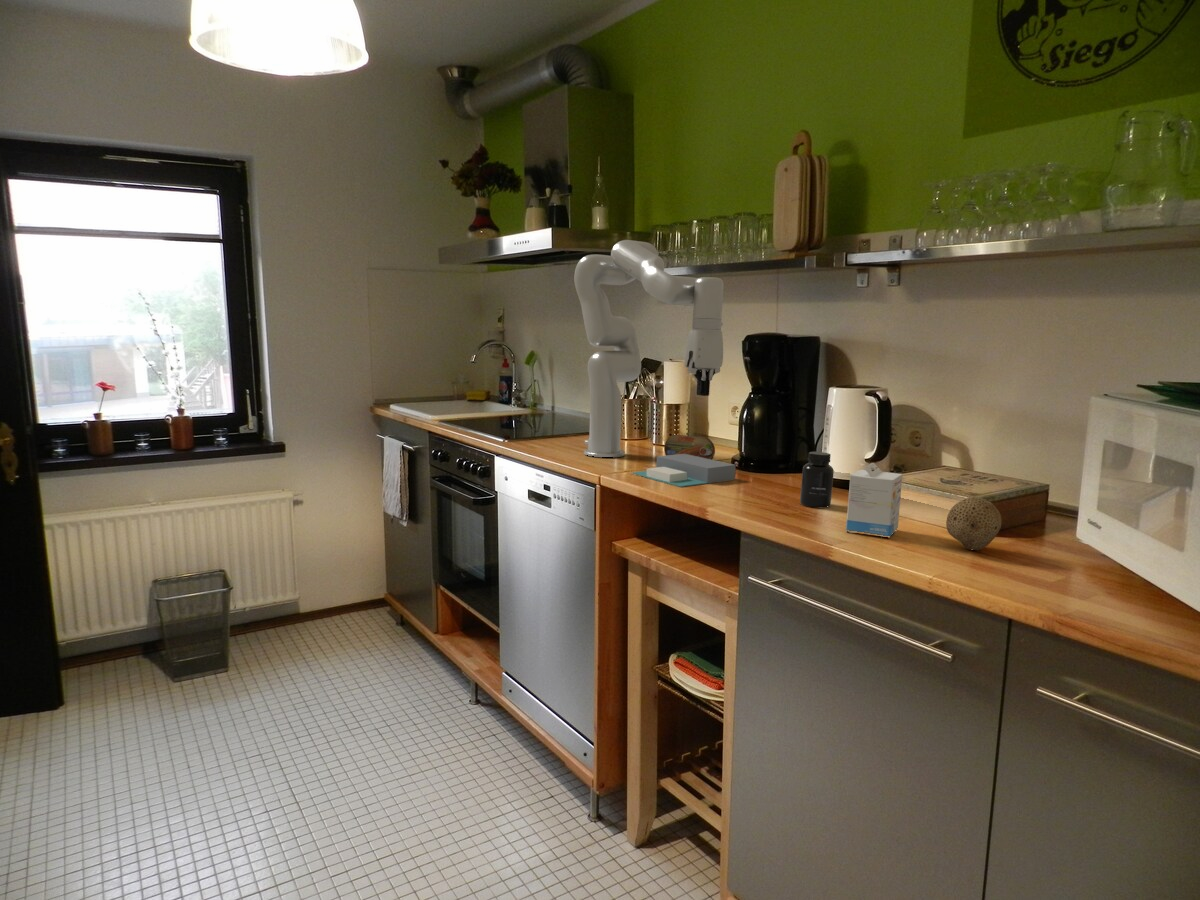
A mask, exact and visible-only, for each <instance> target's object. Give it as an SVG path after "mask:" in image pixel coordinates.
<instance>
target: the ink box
mask: <svg viewBox="0 0 1200 900" xmlns="http://www.w3.org/2000/svg"><path fill="white" fill-rule="evenodd" d="M863 468H864V469H859V470H857V471H855V472H853V473H850V474H849V489H848V490H849V491H848V498H847V499H848V500H847V501H848V502H847V513H846V525H845V527H846V528H845V529H846V530H849V531H857V532H864V533H870V534H877V535H883V536H891V535H892V533H894V532H895V530H897V528H898V529H899V521H900V519H899V518H900V517H899V516H900V506H901V495H902V494H901V493H902V485H903V484H902V483H903V473H896V472H889V471H888V472H887V471H883V470H881V468H879V466H878V465H877V464H876V463H874V462H871V463H870V464H867V465H865V466H863ZM872 469H873V470H872ZM846 530H845V531H846ZM897 531H898V530H897ZM895 533H896V532H895ZM895 533H894V534H895ZM892 536H893V535H892ZM892 536H891V537H892Z"/></svg>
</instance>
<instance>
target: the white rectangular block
mask: <svg viewBox="0 0 1200 900" xmlns="http://www.w3.org/2000/svg"><path fill="white" fill-rule="evenodd" d="M646 471H647V476H648V477H651V478H655V479H659V480H663V481H667V482H675V481H682V480H687V472H684V471H680V470H676V469H671V468H667V467H657V468H656V467H650V468H646Z"/></svg>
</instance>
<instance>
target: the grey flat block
mask: <svg viewBox="0 0 1200 900" xmlns="http://www.w3.org/2000/svg"><path fill="white" fill-rule="evenodd" d="M657 467H667V468H671V469H676V470H680V471H684V472H687V478H691V479H695V480H699V481H703V482H707V484H714V483H715V482H716V483H720V482H721V483H722V481H723V482H728V481H729V480H730V481H734V480H736V479H735V478H736V467H737V466H736V464H733V463H728V462H723V461H720V460H714V459H712V460H711V459H706V458H702V457H697V456H692V455H688V454H675V455H658V456H657V455H656V466H655V468H657ZM730 481H729V482H730ZM707 484H706V485H707Z"/></svg>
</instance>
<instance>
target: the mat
mask: <svg viewBox="0 0 1200 900" xmlns="http://www.w3.org/2000/svg"><path fill="white" fill-rule="evenodd" d="M631 473H633V474H632V475H634V474H636V475H635V476H637V475H640V476H639V477H641V476H643V477H642V478H645V477H646V478H645V479H648V478H649V480H652V481H656V482H660V483H663V482H664V484H667V483H668V484H669V485H671V486H674V487H678V488H686V486H687V487H693V486H700V485H707V482H703V481H699V480H695V479H691V478H687V480H682V481H675V482H667V481H663V480H659V479H655V478H651V477H648V476H647V470H642V471H641V470H640V471H634V472H633V471H632V472H631ZM668 484H667V485H668Z"/></svg>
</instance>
